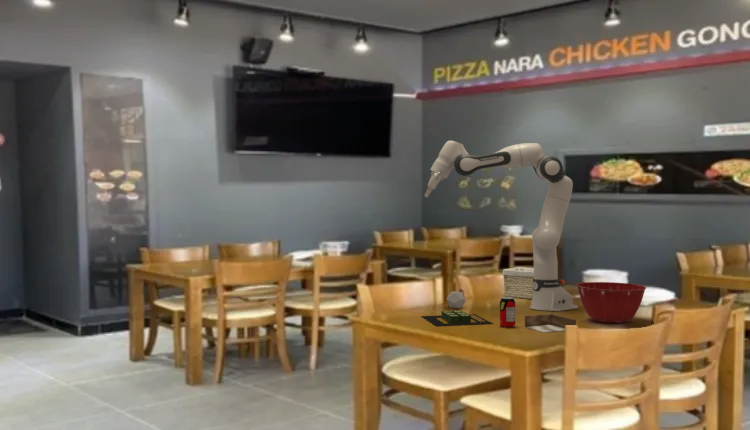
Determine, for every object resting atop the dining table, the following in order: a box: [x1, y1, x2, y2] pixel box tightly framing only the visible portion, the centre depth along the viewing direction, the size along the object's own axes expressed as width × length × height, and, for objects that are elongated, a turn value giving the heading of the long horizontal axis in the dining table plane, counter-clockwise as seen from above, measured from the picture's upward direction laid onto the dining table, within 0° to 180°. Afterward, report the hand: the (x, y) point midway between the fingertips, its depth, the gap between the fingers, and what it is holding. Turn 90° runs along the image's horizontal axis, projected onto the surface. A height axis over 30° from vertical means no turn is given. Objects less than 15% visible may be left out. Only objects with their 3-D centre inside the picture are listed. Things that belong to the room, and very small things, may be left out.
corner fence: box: [524, 313, 577, 334], centre depth 320 cm, size 14×16×4 cm
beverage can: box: [499, 296, 516, 328], centre depth 326 cm, size 6×6×12 cm
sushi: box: [420, 310, 494, 328], centre depth 342 cm, size 25×25×4 cm
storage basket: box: [502, 266, 534, 300], centre depth 410 cm, size 24×16×15 cm
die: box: [446, 290, 466, 309], centre depth 376 cm, size 8×9×10 cm
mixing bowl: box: [576, 281, 647, 324], centre depth 338 cm, size 28×28×16 cm
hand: (425, 196), depth 374 cm, fingers open, 8 cm apart
